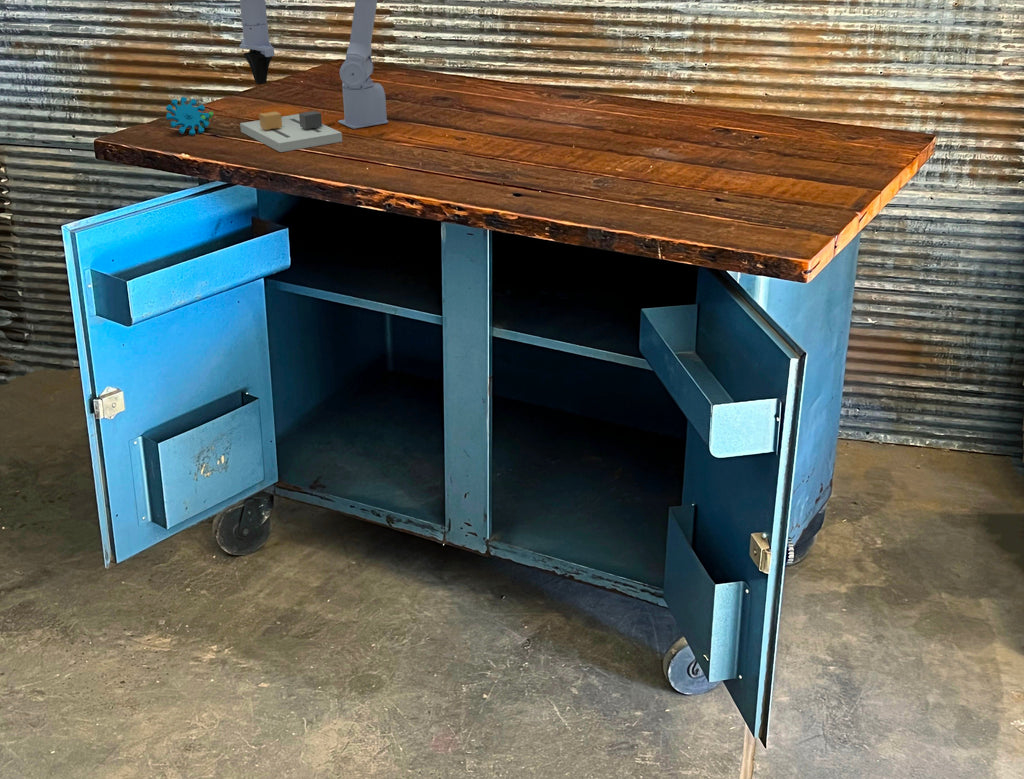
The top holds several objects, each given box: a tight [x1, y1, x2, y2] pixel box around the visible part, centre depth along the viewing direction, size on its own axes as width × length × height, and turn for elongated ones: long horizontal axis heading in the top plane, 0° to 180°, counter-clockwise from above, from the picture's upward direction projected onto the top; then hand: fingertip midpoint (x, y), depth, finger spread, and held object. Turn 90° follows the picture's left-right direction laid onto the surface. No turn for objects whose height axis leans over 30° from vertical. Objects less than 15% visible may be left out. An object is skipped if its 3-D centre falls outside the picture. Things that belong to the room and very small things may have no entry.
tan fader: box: [258, 110, 282, 130], centre depth 279 cm, size 4×3×3 cm
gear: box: [165, 96, 214, 136], centre depth 286 cm, size 11×6×10 cm
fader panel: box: [239, 113, 343, 153], centre depth 280 cm, size 15×22×2 cm
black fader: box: [298, 110, 323, 129], centre depth 279 cm, size 4×3×3 cm
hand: (261, 83), depth 288 cm, fingers closed
